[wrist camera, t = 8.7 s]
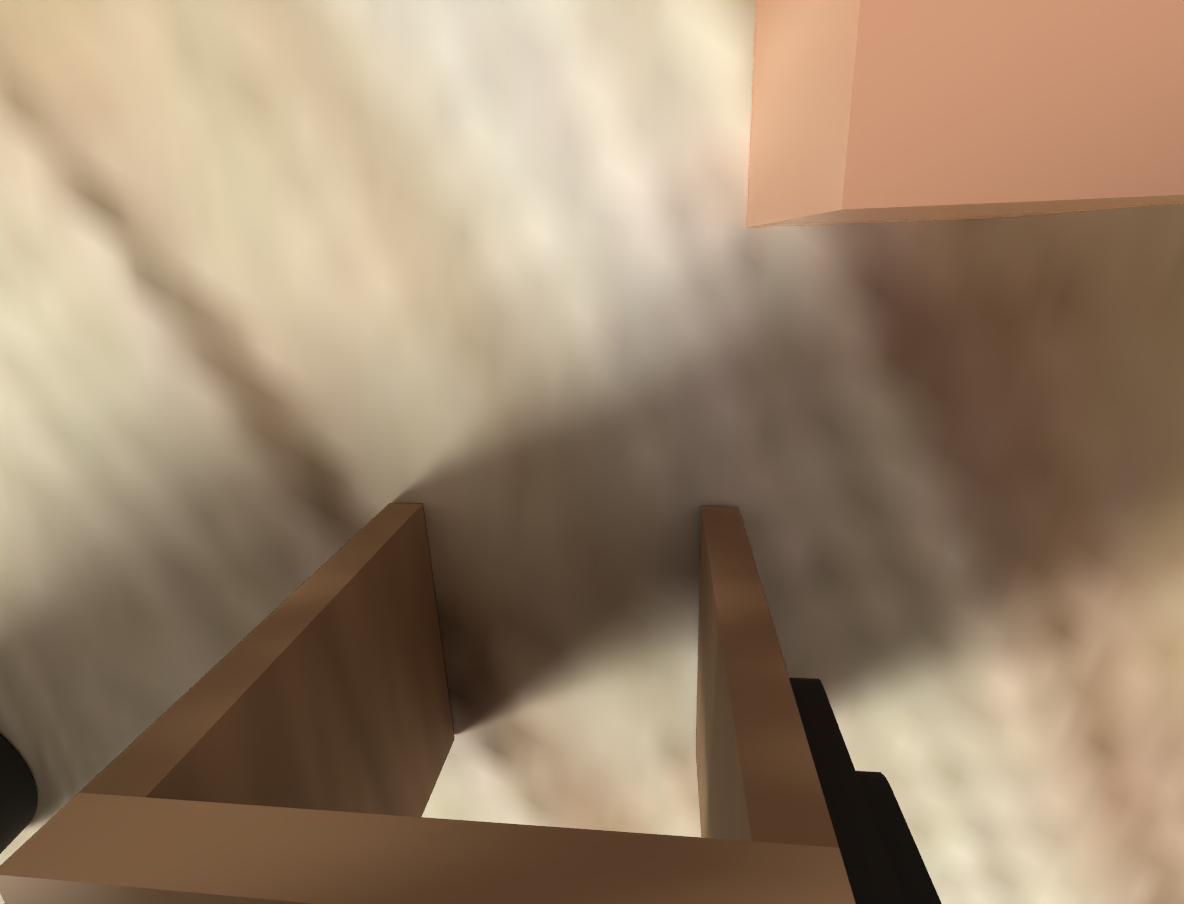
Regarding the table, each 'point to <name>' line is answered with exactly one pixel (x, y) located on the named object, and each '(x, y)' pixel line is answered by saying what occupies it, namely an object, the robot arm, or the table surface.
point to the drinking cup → (14, 794)
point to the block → (963, 109)
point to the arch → (426, 768)
